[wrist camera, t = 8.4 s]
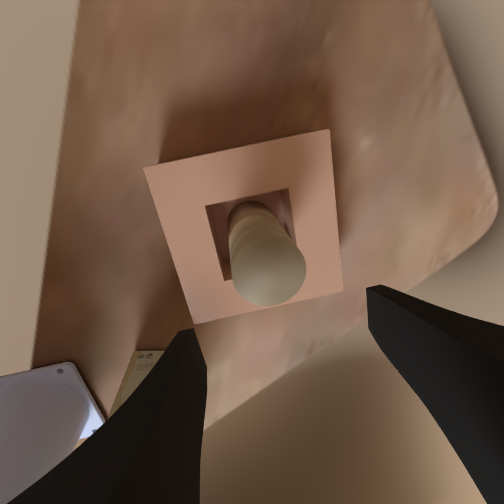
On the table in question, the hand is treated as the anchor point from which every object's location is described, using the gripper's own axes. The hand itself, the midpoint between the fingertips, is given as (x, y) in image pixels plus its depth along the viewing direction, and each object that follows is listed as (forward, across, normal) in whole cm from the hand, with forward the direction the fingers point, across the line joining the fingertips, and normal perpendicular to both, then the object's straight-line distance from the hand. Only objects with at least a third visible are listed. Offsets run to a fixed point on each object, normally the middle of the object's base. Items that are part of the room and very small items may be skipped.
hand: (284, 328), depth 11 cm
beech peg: (+9, 0, -2) cm, 9 cm away
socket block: (+10, 0, -2) cm, 10 cm away
